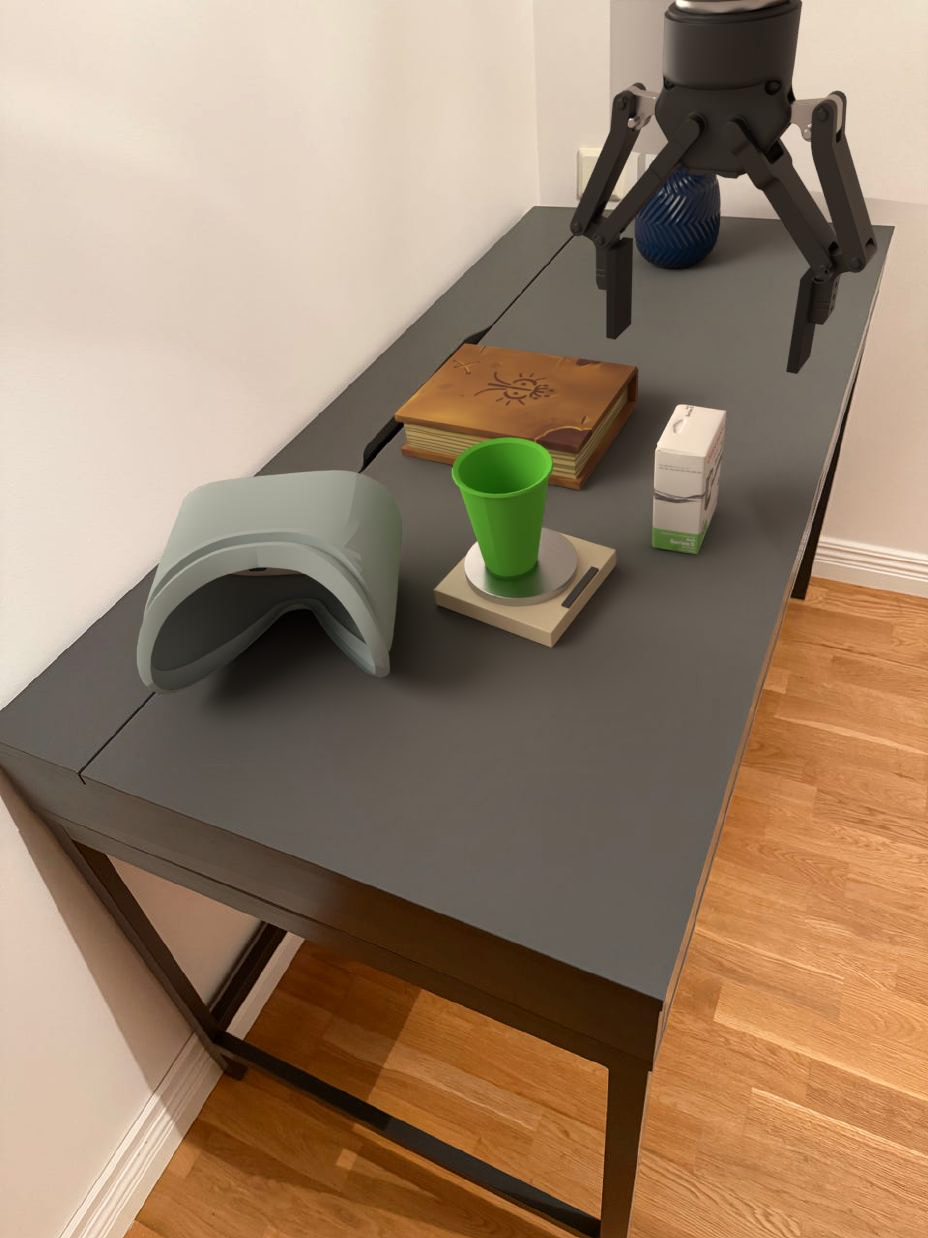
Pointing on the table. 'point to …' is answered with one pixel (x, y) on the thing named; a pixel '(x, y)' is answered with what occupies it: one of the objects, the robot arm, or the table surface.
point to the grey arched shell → (272, 572)
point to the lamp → (660, 145)
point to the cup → (505, 500)
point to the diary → (521, 407)
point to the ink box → (687, 477)
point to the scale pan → (526, 574)
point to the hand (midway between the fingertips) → (704, 347)
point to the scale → (537, 619)
